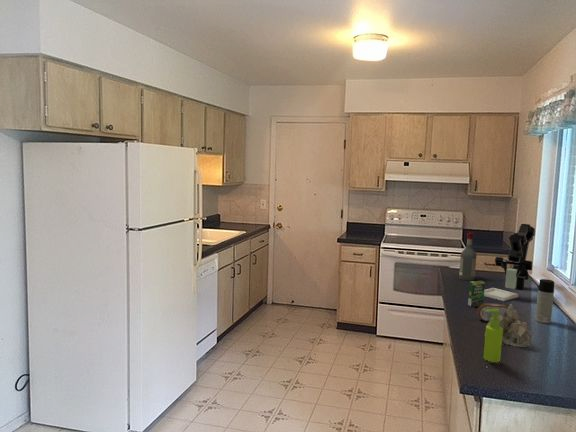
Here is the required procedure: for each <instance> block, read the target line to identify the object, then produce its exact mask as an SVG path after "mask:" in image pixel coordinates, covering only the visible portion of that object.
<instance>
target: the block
mask: <svg viewBox="0 0 576 432" xmlns="http://www.w3.org/2000/svg"><path fill="white" fill-rule="evenodd" d="M517 271H518V269H512V268H511V267H510V268H509V267H507V270H506V275H505V285H504V288H506V289H514V290H515V288H516V282H517V277H516V274H517Z"/></svg>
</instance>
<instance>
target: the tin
mask: <svg viewBox="0 0 576 432" xmlns="http://www.w3.org/2000/svg"><path fill="white" fill-rule="evenodd" d="M508 307H509V306H507V304H502V303H491V302H490V303H489V302H487V303H486V302H485V303H483V304H482V305H480V306H477V309H476V313H477V316H478V318H479V319H480V320H482V321H484V322H490V318H491V317H493V312H489V313H488V312H486V311H485V310H487V309H499V310H500V311H501V312H500V316H502V317H503V315H504V313H505V311H506V310H508Z"/></svg>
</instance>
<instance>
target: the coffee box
mask: <svg viewBox="0 0 576 432" xmlns="http://www.w3.org/2000/svg"><path fill="white" fill-rule="evenodd" d="M468 282H469V283H468V295H467V296H468V297H467V299H468V300H467V306H469V307H470V308H472V307H473V308H475V307H479V306H480V305H482V304H484V301H485V300H484V299H485V296H484V290H485V287H486V286H485V285H486V282H485V281H484V280H476V281H475V280H473V281H468Z"/></svg>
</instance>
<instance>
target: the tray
mask: <svg viewBox="0 0 576 432" xmlns="http://www.w3.org/2000/svg"><path fill="white" fill-rule="evenodd" d="M485 297H486V298H489V299H493V300H496V299H497V301H500V302H507V301H510V300H514V299H517V298H519V293H517V292H511V291H507V290H504V289H500V288H495V287H490V288H487V289H484V298H485Z"/></svg>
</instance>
